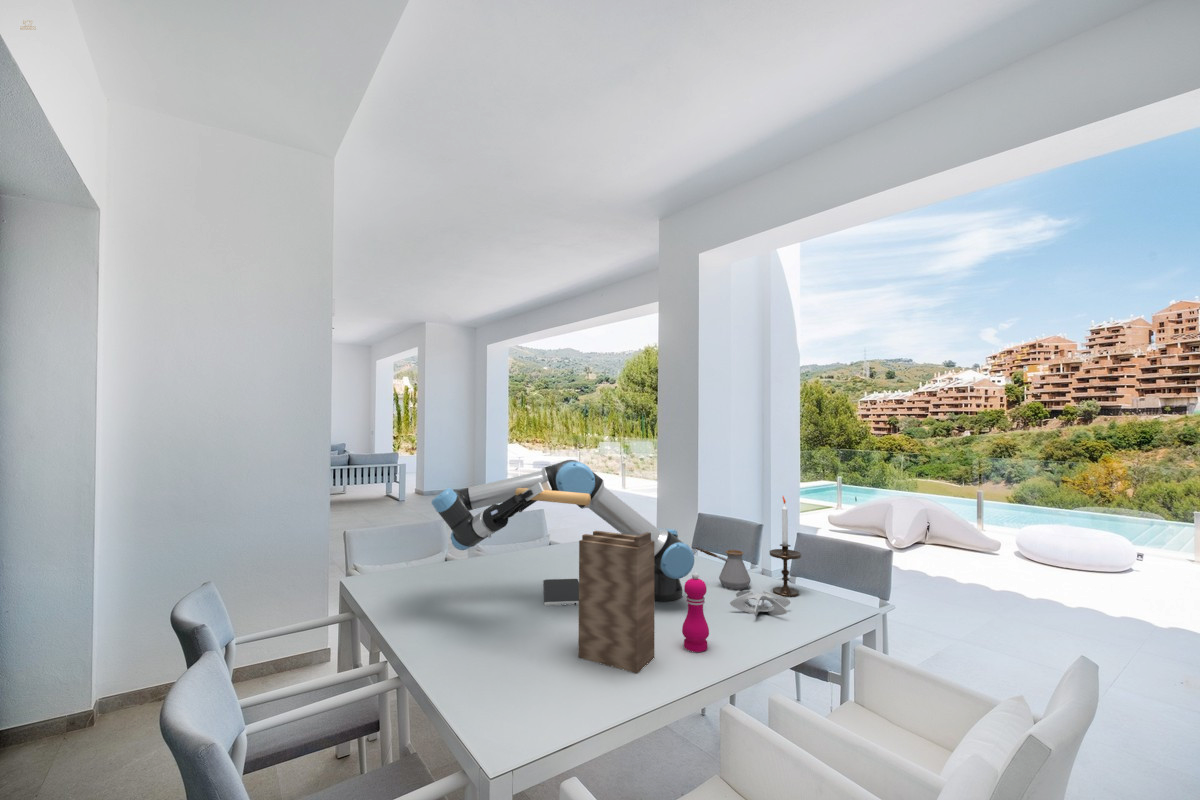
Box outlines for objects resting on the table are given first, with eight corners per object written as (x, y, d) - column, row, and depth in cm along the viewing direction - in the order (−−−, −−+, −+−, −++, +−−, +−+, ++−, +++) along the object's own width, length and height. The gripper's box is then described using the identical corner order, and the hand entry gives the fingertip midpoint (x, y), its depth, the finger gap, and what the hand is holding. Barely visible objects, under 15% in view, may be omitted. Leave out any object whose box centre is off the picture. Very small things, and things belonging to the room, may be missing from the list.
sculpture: (726, 618, 166) (726, 597, 166) (739, 599, 184) (738, 581, 184) (785, 627, 158) (784, 606, 158) (792, 607, 176) (792, 587, 176)
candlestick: (763, 590, 193) (762, 494, 195) (786, 587, 198) (785, 492, 199) (784, 599, 184) (783, 498, 185) (808, 595, 188) (807, 496, 189)
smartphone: (543, 608, 176) (543, 603, 176) (543, 583, 203) (543, 578, 203) (583, 607, 177) (583, 601, 177) (577, 582, 204) (577, 577, 204)
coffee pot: (743, 581, 205) (742, 542, 205) (756, 590, 193) (755, 549, 194) (689, 583, 201) (689, 543, 202) (699, 593, 190) (699, 551, 191)
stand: (578, 657, 137) (579, 531, 139) (598, 643, 146) (598, 525, 147) (636, 673, 128) (637, 538, 130) (654, 658, 137) (654, 531, 138)
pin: (515, 499, 154) (515, 488, 155) (522, 498, 157) (522, 487, 157) (584, 506, 142) (584, 494, 142) (590, 504, 145) (590, 492, 145)
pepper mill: (703, 655, 139) (703, 578, 140) (677, 649, 142) (677, 574, 143) (713, 645, 145) (712, 571, 146) (688, 640, 149) (688, 568, 149)
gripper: (513, 527, 167) (566, 494, 157) (476, 536, 153) (532, 501, 143) (504, 505, 169) (556, 472, 159) (467, 512, 155) (522, 476, 145)
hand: (545, 486), depth 151 cm, fingers closed on pin, 3 cm apart
